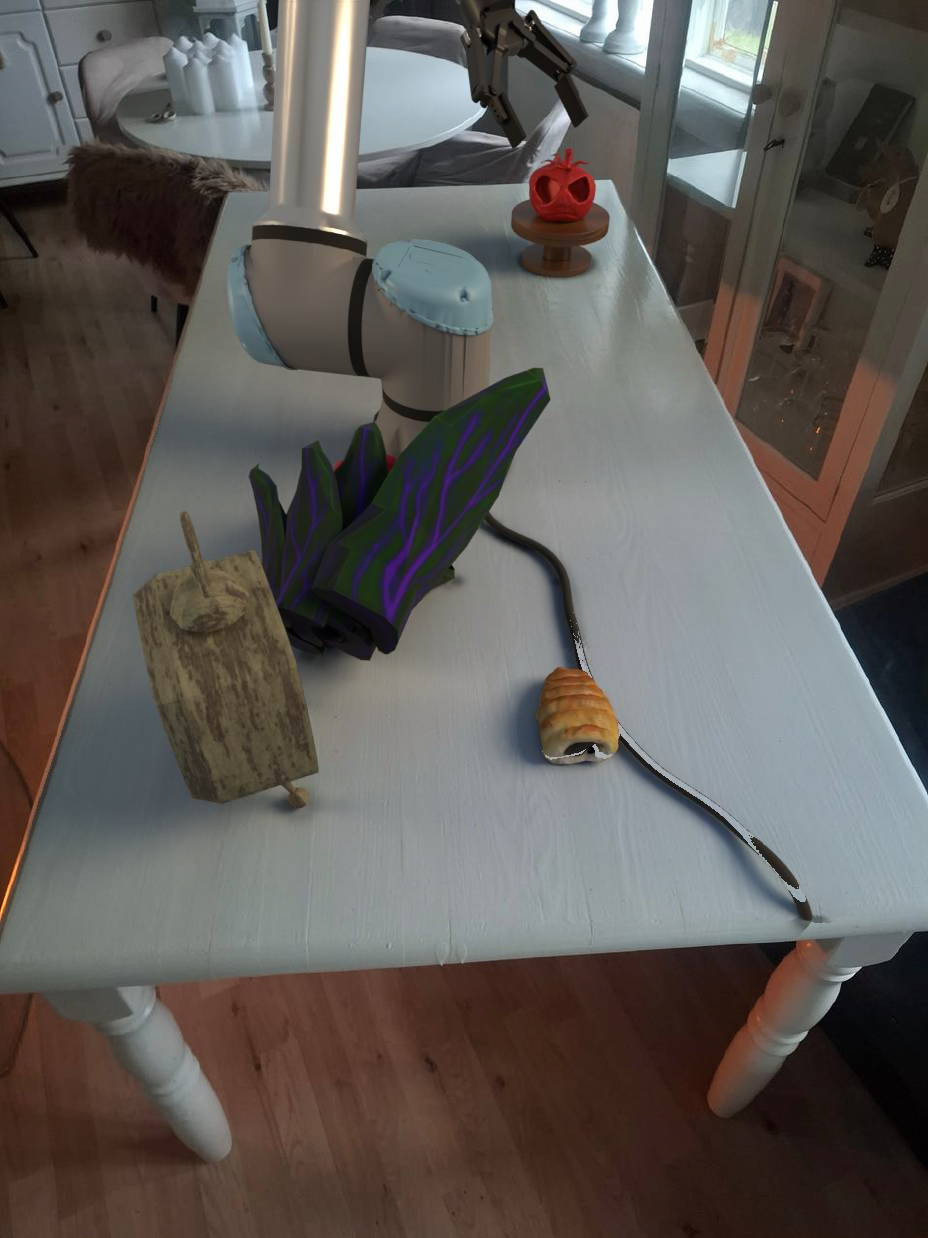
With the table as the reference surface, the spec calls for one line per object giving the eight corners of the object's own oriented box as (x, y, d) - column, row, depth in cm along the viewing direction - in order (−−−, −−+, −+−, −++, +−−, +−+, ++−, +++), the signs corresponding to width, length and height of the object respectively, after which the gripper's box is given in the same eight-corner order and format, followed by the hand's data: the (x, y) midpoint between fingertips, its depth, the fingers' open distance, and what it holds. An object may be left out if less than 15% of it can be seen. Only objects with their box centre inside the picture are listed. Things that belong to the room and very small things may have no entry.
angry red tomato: (529, 200, 135) (533, 135, 129) (593, 203, 135) (600, 138, 128) (524, 225, 128) (528, 158, 122) (591, 229, 128) (599, 162, 121)
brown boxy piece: (328, 816, 67) (283, 586, 49) (212, 856, 65) (120, 629, 47) (283, 683, 77) (231, 448, 58) (179, 713, 74) (92, 478, 56)
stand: (614, 280, 133) (621, 232, 127) (518, 285, 131) (521, 236, 126) (591, 239, 143) (596, 193, 138) (501, 244, 141) (504, 197, 136)
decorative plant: (287, 695, 87) (393, 469, 101) (507, 718, 73) (596, 451, 86) (141, 576, 73) (287, 331, 86) (379, 576, 58) (510, 281, 72)
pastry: (526, 681, 77) (530, 653, 74) (601, 677, 77) (607, 649, 75) (542, 770, 71) (546, 742, 68) (623, 765, 71) (630, 738, 68)
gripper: (525, -5, 131) (589, 128, 135) (403, 22, 119) (477, 167, 122) (554, -43, 125) (621, 97, 128) (428, -19, 112) (506, 135, 116)
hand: (551, 132), depth 125 cm, fingers open, 13 cm apart
